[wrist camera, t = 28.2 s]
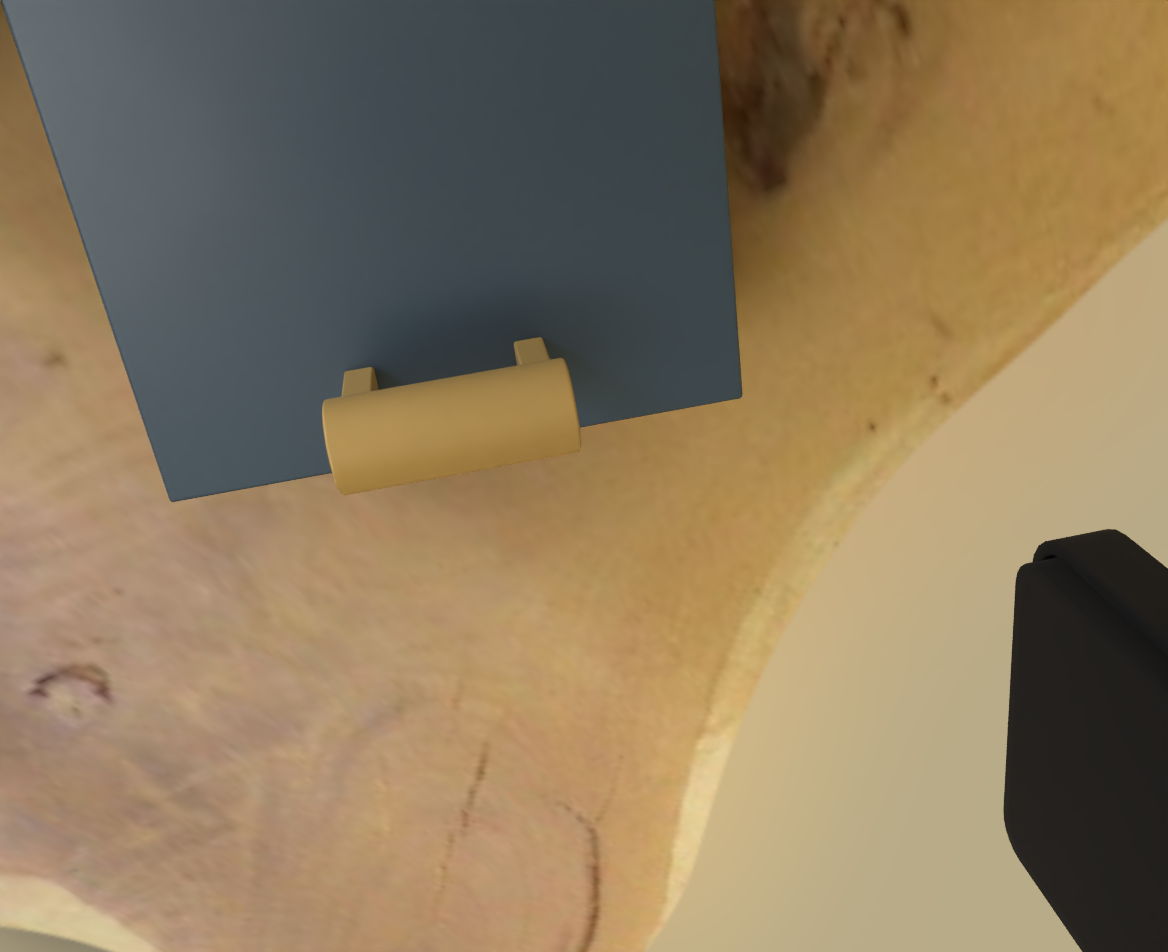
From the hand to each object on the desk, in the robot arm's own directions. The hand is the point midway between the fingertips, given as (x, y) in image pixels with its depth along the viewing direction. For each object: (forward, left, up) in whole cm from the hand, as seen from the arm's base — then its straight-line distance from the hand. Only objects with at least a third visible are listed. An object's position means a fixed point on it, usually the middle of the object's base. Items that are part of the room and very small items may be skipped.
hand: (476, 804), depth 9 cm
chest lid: (0, +3, -19) cm, 19 cm away
